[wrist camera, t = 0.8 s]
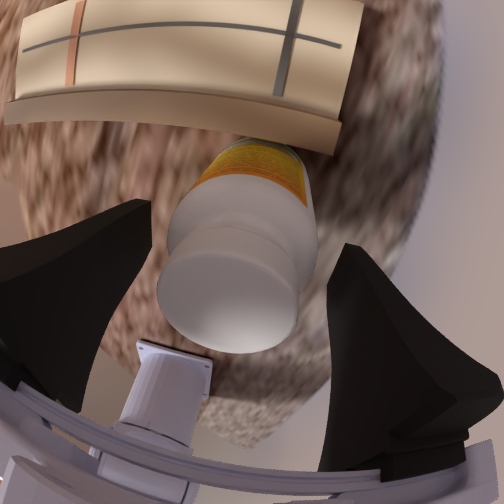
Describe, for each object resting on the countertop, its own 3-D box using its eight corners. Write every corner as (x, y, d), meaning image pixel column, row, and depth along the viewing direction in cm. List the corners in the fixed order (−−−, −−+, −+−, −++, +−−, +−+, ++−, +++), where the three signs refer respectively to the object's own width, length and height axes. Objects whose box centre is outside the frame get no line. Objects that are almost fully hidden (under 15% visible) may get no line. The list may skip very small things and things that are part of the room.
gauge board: (326, 144, 14) (332, 156, 12) (26, 116, 14) (4, 125, 12) (358, 9, 9) (370, -3, 7) (34, 18, 9) (11, 19, 7)
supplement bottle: (196, 158, 15) (97, 262, 7) (286, 120, 13) (281, 189, 5) (237, 235, 18) (195, 372, 10) (321, 207, 16) (343, 350, 8)
